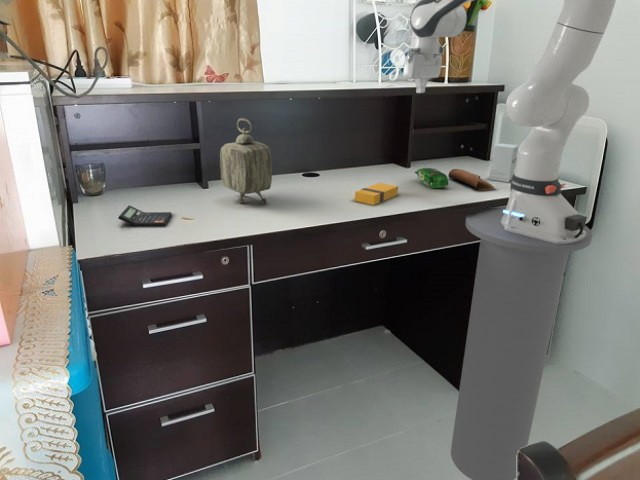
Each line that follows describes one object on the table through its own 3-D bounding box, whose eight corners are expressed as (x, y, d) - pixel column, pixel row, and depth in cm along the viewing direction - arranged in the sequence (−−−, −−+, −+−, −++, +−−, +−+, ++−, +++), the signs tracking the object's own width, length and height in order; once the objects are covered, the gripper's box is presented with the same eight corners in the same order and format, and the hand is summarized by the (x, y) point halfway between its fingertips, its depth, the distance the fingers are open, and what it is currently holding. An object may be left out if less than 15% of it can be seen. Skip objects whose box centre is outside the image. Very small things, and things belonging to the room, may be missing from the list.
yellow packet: (379, 182, 167) (354, 191, 156) (398, 186, 163) (374, 195, 152) (378, 191, 168) (354, 201, 157) (397, 195, 165) (374, 205, 153)
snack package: (431, 179, 186) (432, 165, 184) (450, 189, 172) (451, 174, 170) (413, 179, 185) (414, 165, 183) (430, 190, 170) (431, 175, 168)
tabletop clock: (272, 203, 153) (271, 119, 144) (248, 209, 147) (245, 122, 138) (243, 194, 162) (240, 114, 153) (219, 199, 156) (215, 117, 147)
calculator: (164, 226, 132) (163, 215, 131) (119, 226, 131) (117, 215, 130) (171, 215, 141) (170, 204, 140) (128, 215, 140) (127, 205, 139)
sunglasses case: (497, 188, 173) (491, 172, 170) (481, 199, 172) (474, 183, 169) (467, 176, 189) (461, 161, 186) (452, 186, 188) (445, 172, 185)
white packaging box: (508, 182, 183) (514, 147, 178) (488, 179, 187) (493, 145, 182) (513, 178, 189) (519, 144, 184) (493, 175, 192) (498, 142, 188)
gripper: (418, 48, 153) (414, 95, 158) (446, 48, 168) (441, 91, 173) (400, 47, 156) (396, 94, 161) (428, 48, 172) (425, 90, 177)
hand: (420, 92), depth 167 cm, fingers closed
